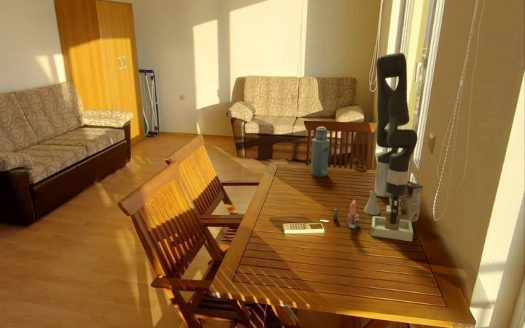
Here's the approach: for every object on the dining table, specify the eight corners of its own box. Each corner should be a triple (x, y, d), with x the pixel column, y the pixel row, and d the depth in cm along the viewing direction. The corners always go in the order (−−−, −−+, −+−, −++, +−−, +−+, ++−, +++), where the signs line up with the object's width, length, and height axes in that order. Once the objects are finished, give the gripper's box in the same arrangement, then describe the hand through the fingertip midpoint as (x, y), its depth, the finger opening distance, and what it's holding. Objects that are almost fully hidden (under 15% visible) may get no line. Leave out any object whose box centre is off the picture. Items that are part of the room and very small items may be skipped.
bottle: (317, 174, 219) (320, 124, 211) (330, 178, 212) (333, 127, 203) (306, 177, 213) (309, 126, 205) (319, 181, 206) (322, 129, 197)
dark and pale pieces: (321, 217, 158) (322, 206, 157) (359, 222, 154) (360, 211, 152) (319, 223, 153) (320, 212, 151) (358, 228, 148) (359, 217, 147)
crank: (348, 217, 153) (350, 192, 150) (359, 218, 152) (361, 193, 149) (345, 229, 142) (347, 202, 139) (357, 231, 141) (359, 204, 138)
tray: (371, 223, 153) (372, 215, 153) (410, 228, 149) (411, 220, 148) (371, 235, 142) (371, 227, 142) (412, 241, 138) (413, 233, 137)
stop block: (384, 226, 149) (386, 205, 146) (397, 228, 147) (400, 207, 145) (384, 231, 144) (386, 210, 142) (398, 233, 142) (400, 212, 140)
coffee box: (391, 215, 161) (395, 181, 157) (401, 213, 164) (406, 179, 160) (407, 223, 153) (412, 187, 149) (418, 220, 156) (423, 185, 152)
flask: (380, 216, 160) (383, 195, 158) (363, 214, 162) (365, 193, 159) (379, 210, 167) (381, 189, 165) (363, 208, 169) (365, 188, 166)
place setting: (342, 174, 220) (342, 165, 219) (352, 167, 237) (353, 158, 235) (371, 179, 211) (372, 170, 210) (379, 171, 228) (380, 162, 226)
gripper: (386, 174, 148) (382, 211, 152) (386, 185, 134) (382, 225, 139) (406, 176, 145) (401, 213, 150) (408, 187, 132) (403, 228, 137)
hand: (392, 219), depth 144 cm, fingers open, 8 cm apart
